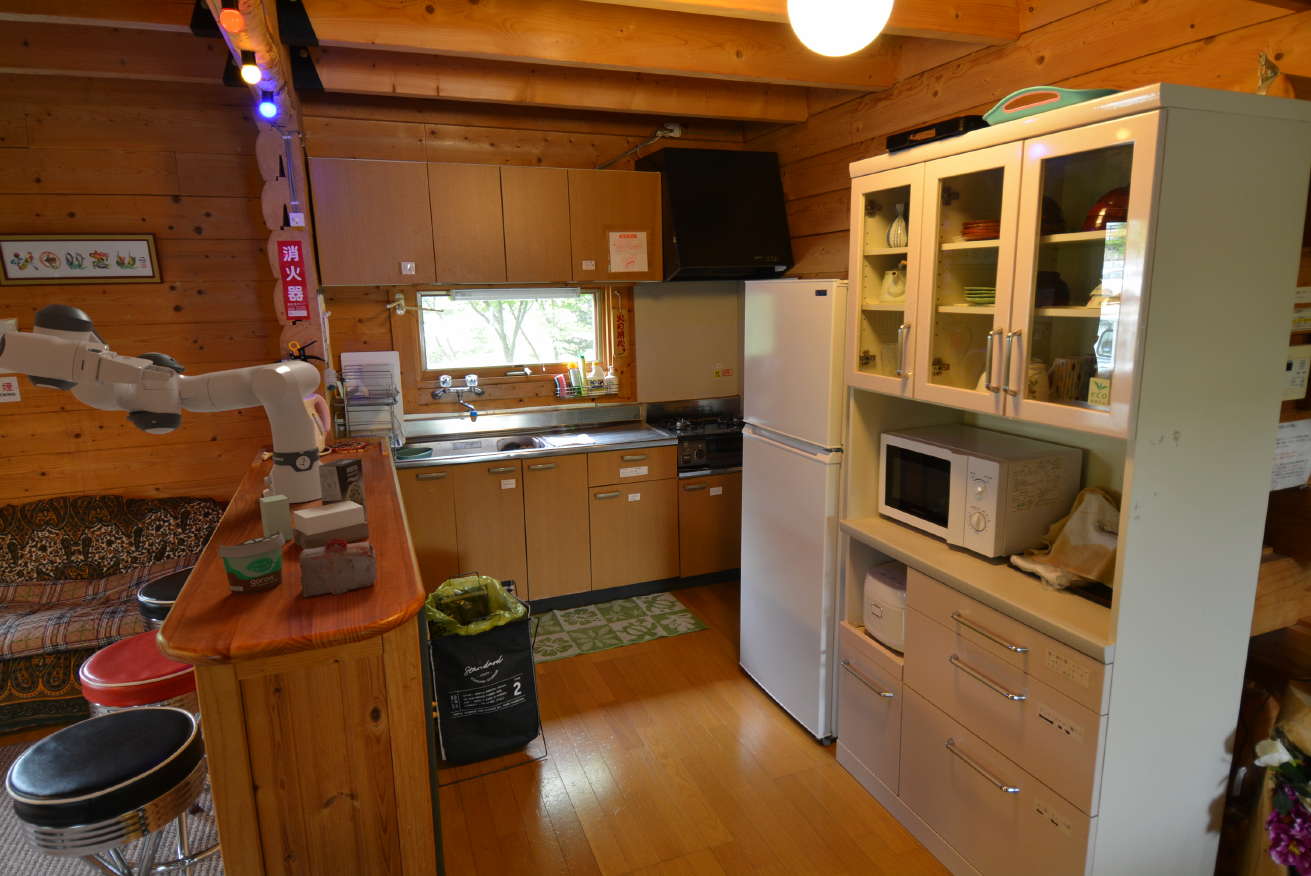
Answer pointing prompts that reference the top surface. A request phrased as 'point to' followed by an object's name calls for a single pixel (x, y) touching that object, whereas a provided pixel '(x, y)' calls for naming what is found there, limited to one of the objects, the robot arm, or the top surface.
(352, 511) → the white slab
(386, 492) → the top surface
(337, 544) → the food item
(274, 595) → the top surface
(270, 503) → the green block
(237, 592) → the food container
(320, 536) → the walnut slab
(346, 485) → the coffee box
